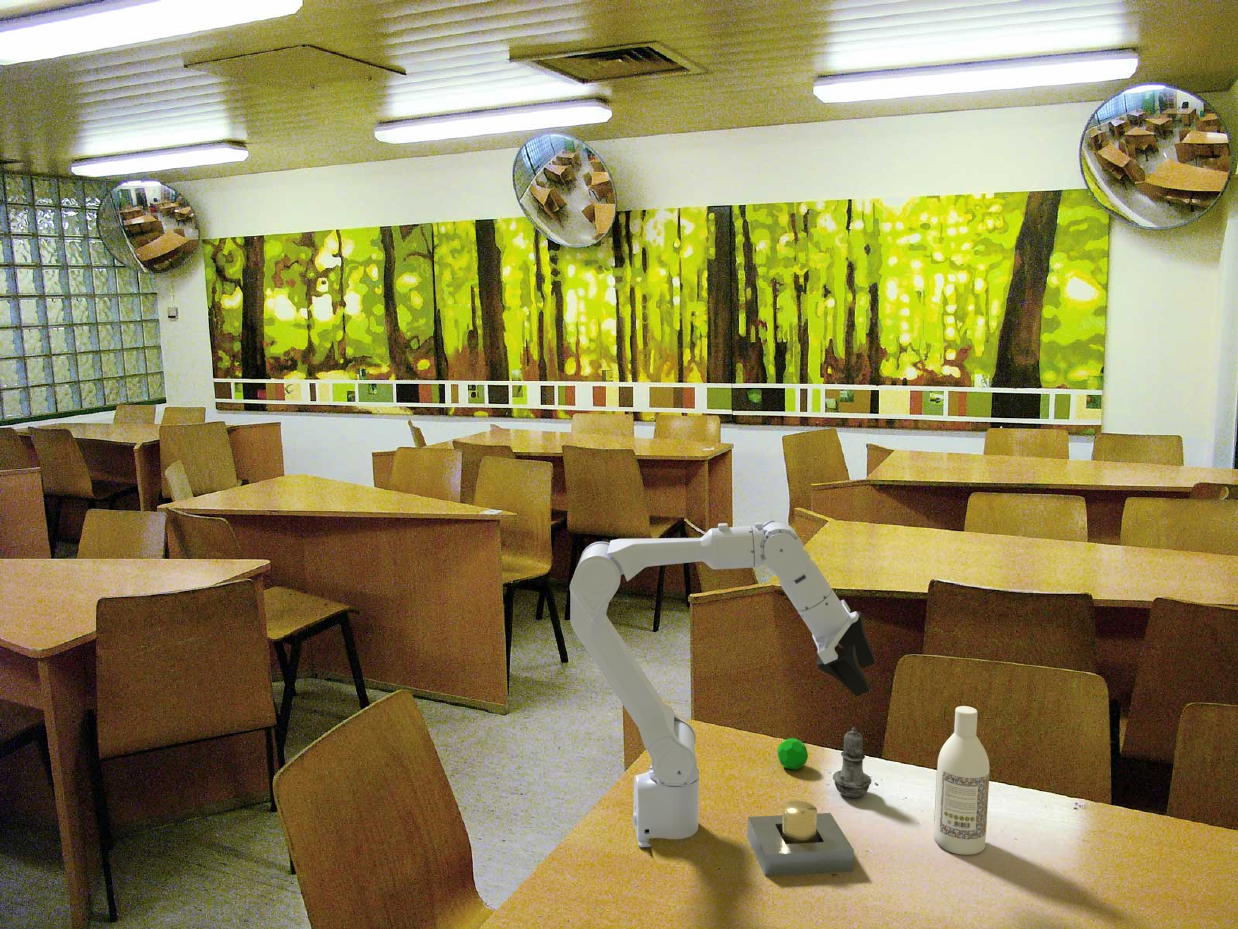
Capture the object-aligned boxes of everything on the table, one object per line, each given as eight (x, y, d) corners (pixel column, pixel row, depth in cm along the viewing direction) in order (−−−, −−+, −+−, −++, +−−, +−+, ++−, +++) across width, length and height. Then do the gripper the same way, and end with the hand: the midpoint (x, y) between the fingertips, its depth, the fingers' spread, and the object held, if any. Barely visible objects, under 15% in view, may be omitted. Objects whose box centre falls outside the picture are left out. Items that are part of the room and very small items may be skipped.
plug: (786, 863, 133) (788, 818, 132) (777, 845, 138) (779, 801, 137) (819, 861, 134) (821, 816, 133) (810, 843, 138) (811, 800, 137)
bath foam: (993, 856, 137) (1001, 719, 134) (943, 857, 137) (951, 720, 134) (973, 830, 144) (981, 699, 141) (926, 831, 144) (933, 700, 141)
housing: (764, 883, 130) (765, 854, 130) (747, 843, 140) (747, 817, 140) (852, 878, 132) (853, 850, 131) (829, 839, 141) (830, 813, 141)
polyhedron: (800, 777, 161) (800, 749, 160) (772, 769, 163) (772, 742, 163) (811, 765, 165) (812, 738, 164) (784, 758, 168) (785, 731, 167)
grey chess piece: (861, 813, 149) (864, 738, 147) (825, 801, 152) (827, 728, 151) (876, 798, 154) (879, 725, 152) (841, 787, 157) (844, 716, 155)
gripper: (831, 611, 129) (886, 695, 130) (845, 566, 142) (895, 642, 143) (786, 632, 132) (840, 714, 133) (804, 585, 145) (853, 661, 146)
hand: (865, 678), depth 138 cm, fingers open, 7 cm apart
